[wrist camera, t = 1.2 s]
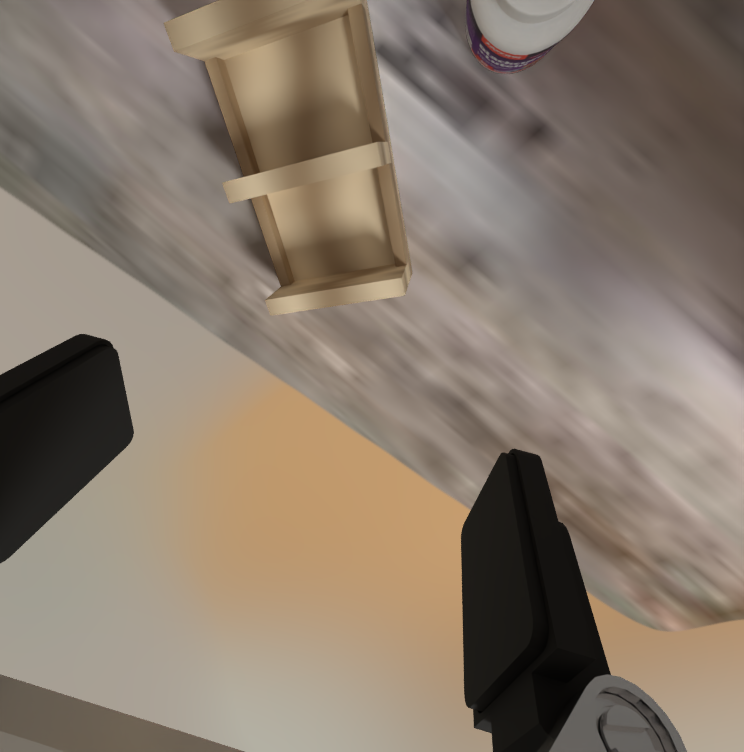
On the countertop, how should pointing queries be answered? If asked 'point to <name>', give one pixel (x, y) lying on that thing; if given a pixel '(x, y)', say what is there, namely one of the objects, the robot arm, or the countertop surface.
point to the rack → (307, 143)
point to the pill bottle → (519, 30)
